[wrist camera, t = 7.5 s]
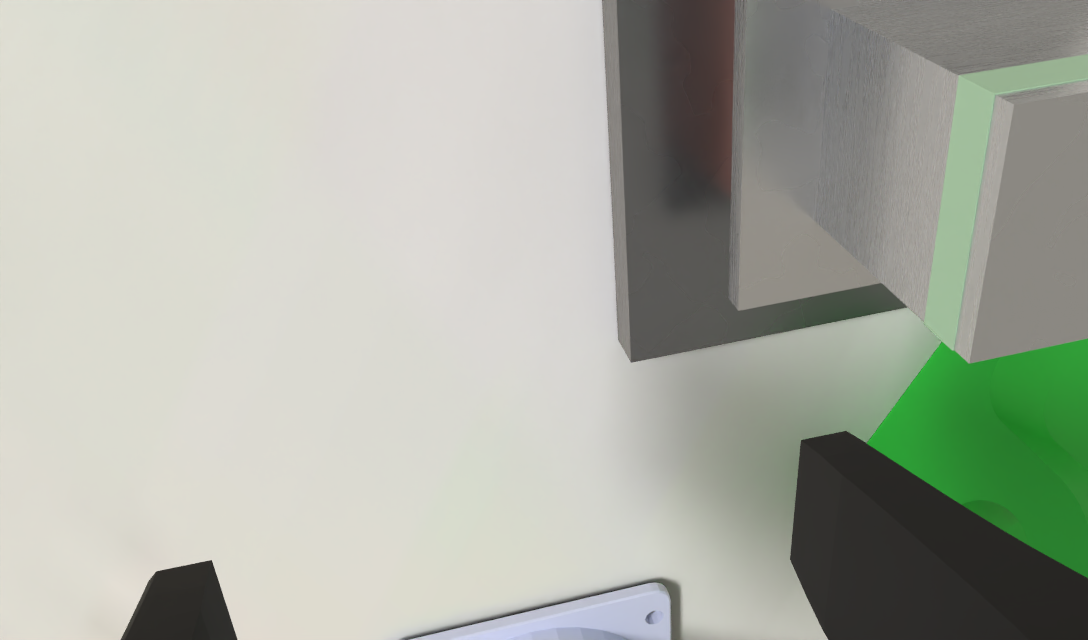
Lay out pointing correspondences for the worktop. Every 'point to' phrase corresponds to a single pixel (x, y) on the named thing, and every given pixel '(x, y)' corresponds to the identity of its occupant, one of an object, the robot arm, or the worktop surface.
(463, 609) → the worktop surface
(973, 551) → the robot arm
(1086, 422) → the mechanical part
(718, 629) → the worktop surface
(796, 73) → the dark grey rectangular tray
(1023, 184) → the green-striped metal cube
